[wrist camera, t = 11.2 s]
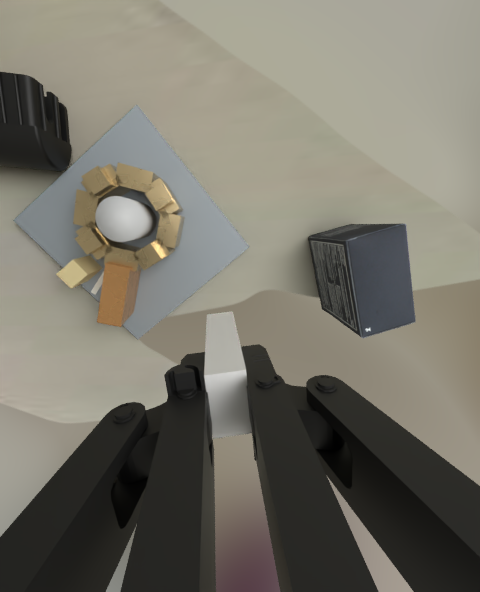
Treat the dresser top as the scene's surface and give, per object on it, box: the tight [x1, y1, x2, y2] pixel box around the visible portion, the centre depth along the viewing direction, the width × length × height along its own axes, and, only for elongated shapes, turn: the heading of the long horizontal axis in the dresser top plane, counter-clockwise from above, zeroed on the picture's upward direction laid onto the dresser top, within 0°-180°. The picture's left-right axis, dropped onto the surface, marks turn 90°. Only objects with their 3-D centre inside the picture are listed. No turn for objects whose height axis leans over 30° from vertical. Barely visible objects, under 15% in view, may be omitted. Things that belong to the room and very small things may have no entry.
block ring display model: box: [13, 105, 249, 339], centre depth 29 cm, size 19×18×8 cm
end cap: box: [0, 72, 71, 171], centre depth 26 cm, size 10×7×7 cm
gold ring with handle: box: [73, 162, 185, 327], centre depth 29 cm, size 16×10×5 cm, turn 165°
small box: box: [308, 224, 415, 338], centre depth 32 cm, size 11×6×10 cm, turn 15°
